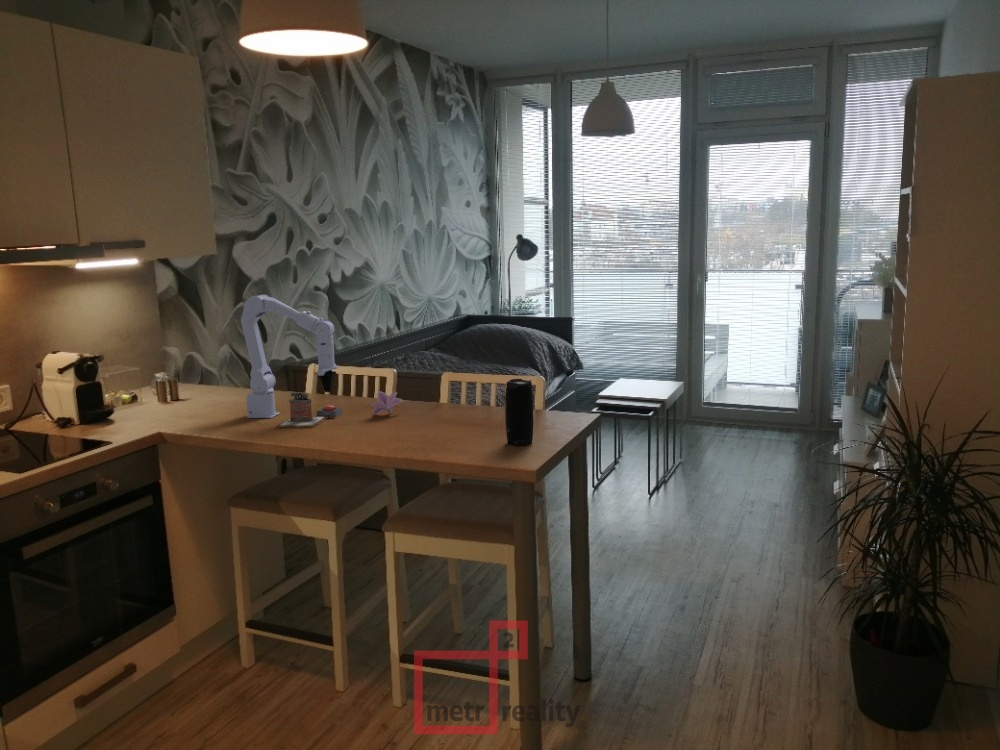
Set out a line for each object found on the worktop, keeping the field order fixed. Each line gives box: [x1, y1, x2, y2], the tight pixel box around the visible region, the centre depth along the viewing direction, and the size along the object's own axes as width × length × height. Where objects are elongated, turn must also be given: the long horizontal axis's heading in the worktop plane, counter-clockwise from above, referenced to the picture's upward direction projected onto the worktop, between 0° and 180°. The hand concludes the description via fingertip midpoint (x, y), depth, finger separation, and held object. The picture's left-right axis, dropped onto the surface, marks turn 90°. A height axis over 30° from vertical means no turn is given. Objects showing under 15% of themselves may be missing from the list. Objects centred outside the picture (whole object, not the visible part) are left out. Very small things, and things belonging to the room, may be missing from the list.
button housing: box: [316, 406, 343, 418], centre depth 286 cm, size 7×7×2 cm
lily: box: [369, 390, 404, 419], centre depth 283 cm, size 12×12×10 cm
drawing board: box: [276, 415, 328, 428], centre depth 276 cm, size 13×15×1 cm
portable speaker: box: [504, 378, 535, 447], centre depth 242 cm, size 9×9×20 cm
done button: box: [323, 404, 335, 411], centre depth 286 cm, size 4×4×2 cm
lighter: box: [288, 391, 313, 422], centre depth 276 cm, size 8×3×10 cm, turn 79°
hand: (328, 391), depth 285 cm, fingers closed
